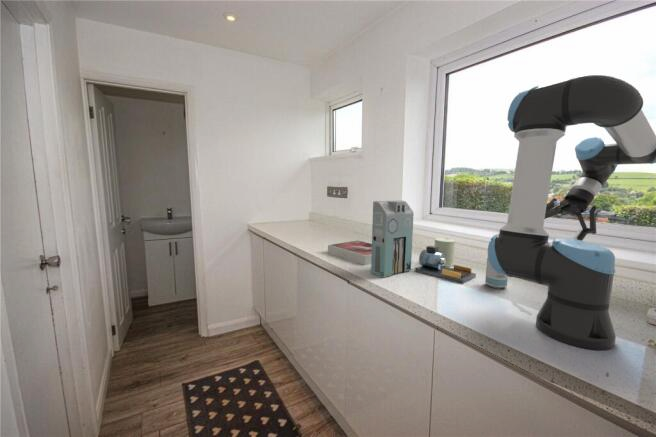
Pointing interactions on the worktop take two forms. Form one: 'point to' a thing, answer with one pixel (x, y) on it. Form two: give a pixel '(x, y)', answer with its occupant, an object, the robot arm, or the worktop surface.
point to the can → (446, 249)
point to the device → (391, 238)
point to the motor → (442, 266)
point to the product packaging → (352, 251)
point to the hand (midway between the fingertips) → (548, 239)
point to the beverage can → (495, 277)
